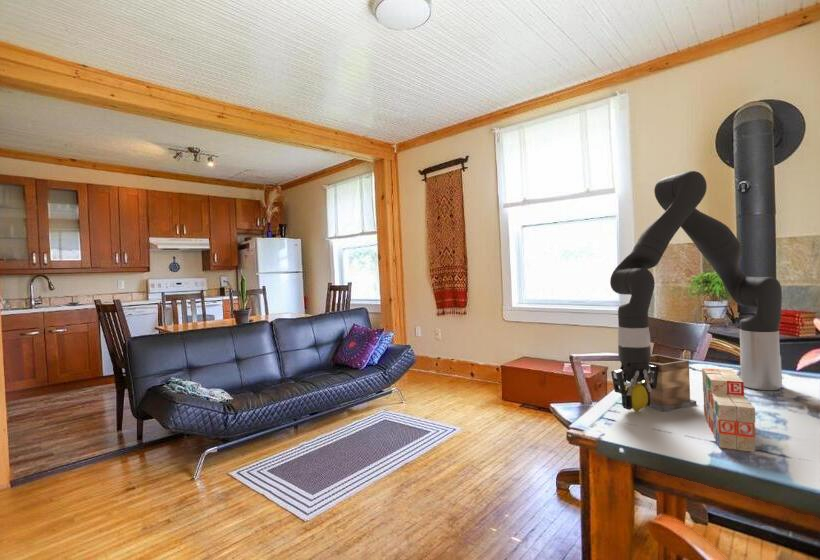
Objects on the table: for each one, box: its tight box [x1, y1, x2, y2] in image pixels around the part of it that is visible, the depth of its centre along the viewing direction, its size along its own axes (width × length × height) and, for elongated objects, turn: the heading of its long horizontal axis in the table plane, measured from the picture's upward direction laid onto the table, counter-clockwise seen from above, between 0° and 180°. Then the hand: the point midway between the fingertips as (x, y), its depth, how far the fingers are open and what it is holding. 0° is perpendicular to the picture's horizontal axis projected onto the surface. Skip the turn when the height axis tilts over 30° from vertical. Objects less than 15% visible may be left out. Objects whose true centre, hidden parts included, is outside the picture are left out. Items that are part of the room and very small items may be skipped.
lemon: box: [625, 383, 648, 413], centre depth 111 cm, size 6×6×8 cm
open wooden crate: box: [647, 354, 698, 412], centre depth 118 cm, size 12×12×12 cm
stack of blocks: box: [701, 368, 756, 453], centre depth 96 cm, size 21×6×12 cm, turn 152°
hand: (636, 406), depth 111 cm, fingers closed on lemon, 5 cm apart
